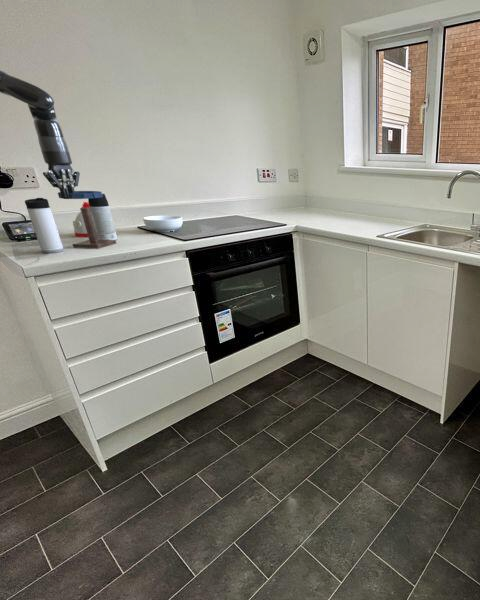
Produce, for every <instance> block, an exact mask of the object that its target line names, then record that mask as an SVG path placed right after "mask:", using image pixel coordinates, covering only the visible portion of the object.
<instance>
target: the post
mask: <svg viewBox="0 0 480 600" xmlns="http://www.w3.org/2000/svg"><path fill="white" fill-rule="evenodd" d="M79 209H80V212H81V213H82V217H83V220H84V224H85V227H86V230H87V234H88V237H87V238H88V239H87V240H84V241H79V242H75V243H72V247H73V249H101V248H104V247H108V246H109V247H110V246H113V245H116V244H117V239H116V240H101V239H98V236H97V232H96V229H95V225H94V221H93V218H92V214H91V211H90V208H82V207H80V208H79Z"/></svg>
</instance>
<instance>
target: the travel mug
mask: <svg viewBox="0 0 480 600" xmlns="http://www.w3.org/2000/svg"><path fill="white" fill-rule="evenodd" d="M24 204H25V206H26V210H27V213H28V216H29V219H30V222H31V225H32V228H33V230H34V233H35V236H36V239H37V242H38V245H39V248H40V251H41V253H43V254H57V253H61V252H64V250H65V249H64V246H63V242H62V239H61V235H60V234H59V231H58V227H57V223H56V221H55V218H54V215H53V212H52V209H51V207H50V203H49V200H48V199H47V198H44V197H36V198H30V199H29V198H28V199H25V200H24Z"/></svg>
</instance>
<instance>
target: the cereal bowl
mask: <svg viewBox="0 0 480 600" xmlns="http://www.w3.org/2000/svg"><path fill="white" fill-rule="evenodd" d="M142 220H143V224H144V225H145V227H146V228H148V229H149V230H152V231H155V232H156V233H171V232H170V231H173V232H175V231H176V230H178V229H180V228H181V227H182V226H183V216H179V215H151V216H145V217H143V219H142Z"/></svg>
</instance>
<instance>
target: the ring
mask: <svg viewBox="0 0 480 600" xmlns="http://www.w3.org/2000/svg"><path fill="white" fill-rule="evenodd" d="M74 191H75V193H69V196H70V199H69V200H85V199H86V200H88V199H90V198H101V197H103V196H102V194H103V192H102V191H99V190H74ZM57 195H58V199H63V197H62V196H61V192H60V191H59V192H57ZM63 200H64V199H63Z"/></svg>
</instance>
